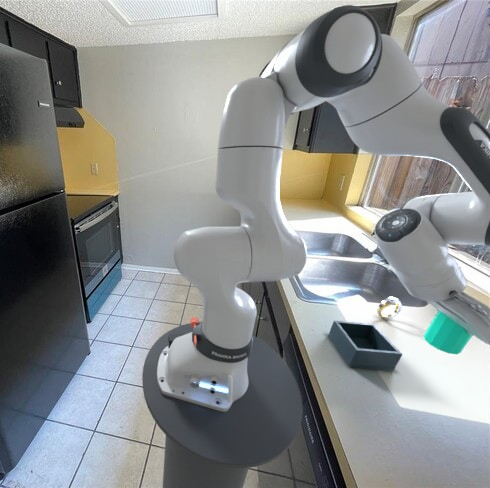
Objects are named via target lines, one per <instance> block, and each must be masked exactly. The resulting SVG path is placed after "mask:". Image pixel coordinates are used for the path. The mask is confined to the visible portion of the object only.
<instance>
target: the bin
mask: <svg viewBox="0 0 490 488" xmlns="http://www.w3.org/2000/svg"><path fill="white" fill-rule="evenodd" d="M327 336H328V338H329V339H330V341H331V342H332V344H333V345H334V347H335V348H336V350H337V351H338V352H339V355H340V356H341V357H342V358H343V360H344V361H345V363H346V364H347V366H348V367H349V368H361V369H371V370H382V371H391V372H394V370H395V369H396V367H397V365H398V363H399V362H400V360H401V358H402V356H403V353H402V352H401V351H400V349H398V348H397V347H396V346H395V344H394V343H392V341H391V340H390V339H388V337H387V336H386V335H385V334H384V333H383V332H382V331H381V330H380V329H379V328H378V327H377V325H375V324H374V323H368V322H355V321H343V320H333V322H332V324H331V327H330V330H329V333H328V334H327Z"/></svg>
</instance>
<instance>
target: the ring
mask: <svg viewBox="0 0 490 488" xmlns="http://www.w3.org/2000/svg"><path fill="white" fill-rule="evenodd" d="M391 305H395V309H394V311H393V312H392V313H390V314H382V311H383V310H384V309H386V308H387V307H389V306H391ZM402 307H403V303H401V301H400V299H399V298H397V297H394V296H389V297H387V298H385V299H384V300H382V301H381V302H380V304H379V305H378V307H377V309H376V313H377V315H378V316H379V317H380V318H382V319H383V320H387V319H391V318H393V317H394V318H395V317H396V316H397V315H398V314H399V313H401V310H402Z"/></svg>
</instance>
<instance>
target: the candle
mask: <svg viewBox="0 0 490 488" xmlns="http://www.w3.org/2000/svg"><path fill="white" fill-rule="evenodd" d="M472 337H473V336H471V335H470V334H468V333H467V332H466V331H465V329H464V328H463V327H462V326H460V325H459V324H457V323H456V322H455V321H453V320H452V319H450V318H449V317H448V316H446V315H445V314H443V313H442V312H441V311H439V310H438V311H436V314H435V316H434V317H433V319H432V321H431V322H430V324H429V325H428V327H427V329H426V331H425V333H424V335H423V340H424V341H426V342H427V344H429V346H432V347H433V348H435V349H437V350H439V351H441V352H443V353H445V354H450V355H451V354H452V355H459V354H461V353H462V351H463V350H464V349H465V347H466V346H467V344H468V343H469V342H470V340H471V338H472Z"/></svg>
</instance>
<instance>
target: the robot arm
mask: <svg viewBox="0 0 490 488" xmlns="http://www.w3.org/2000/svg"><path fill="white" fill-rule="evenodd" d="M325 102H326V103H328V104H329V105H331V106H333V108H334V109H335V110H336V112H337V115H338V117H339V119H340V121H341V122H342V125H343V126H344V129H345V131H346V132H347V134H348V137H349V138H350V139H351V141H352V142H353V144H355V145H356V147H357V148H358V149H360V150H361V151H363V152H366V153H368V154H371V155H375V156H385V157H399V156H400V157H401V156H402V157H403V156H405V157H418V158H419V157H420V158H429V159H434V160H438V161H442V162H444V163H447V164H448V165H450V166H451V167H453V169H454V170H455V171H456V172H457V174H458V175H459V176H460V177H461V179H462V180H463V181H464V182H465V184H466V185H467V186H468V188H469V189H470V191H463V192H453V193H439V194H431V195H430V194H429V195H422V196H417V197H412V198H410V199H408V200H407V201H406V202H405V203H404V204H402V206H400V208H398V209H395V210H393V211H390V212H387V213H386V214H385V215H382V217H381V218H380V219H379V220H378V221H377V223H375V226H374V237H375V241H376V243H377V244H376V245H377V246H378V248H379V251H380V253H381V254H382V256H383V258H384V259H385V260H386V262H387V263H388V264H389V265H386V270H387V271H388V273H389V274H391V275H392V276H393V277H394V278H396V279H397V280H398V281H399V282H400V284H401V285H402V286H403V287H404V288H405V290H406V291H407V292H408V294H409V295H410V296H412V297H413V298H415V299H417V300H420V301H424V302H426V303H427V304H430V306H432V307H434V309H435V310H436V312H438V310H439V311H441V312H442V313H443V314H445V315H446V316H448V317H449V318H450V319H452V320H453V321H455V322H456V323H457V324H459V325H460V326H462V327H463V328H464V329H465V331H466V332H467V333H468V334H470V335H471V336H472V337H473V336H474V337H475V338H477V339H478V340H480V341H481V342H483V343H484V344H485V345H489V346H490V307H489V306H488V304H487V305H486V304H485V303H484V302H482V301H480V300H479V299H477V298H475V297H473V296H472V295H470V294H468V293H466V292H464V291H465V290H466V288H467V286H468V281H467V277H466V275H465V274H464V273H463V271H462V269H461V268H460V267H459V266H458V265H459V264H458V263H457V261H456V259H455V258H454V257H453V256H452V255H451V254H449V247H448V245H469V246H470V245H473V246H486V247H490V131H489V130H488V128H487V127H486V126H485V125H484V124H483V122H481V120H480V119H479V118H478V117H477V116H476V115H475V114H474V113H473V112H472V111H470V110H469V109H468V108H465V107H459V106H451V105H448V104H446V103H444V102H441V100H439V99H437V98H435V97H434V96H433V95H432V94H431V93H430V92H429V91H428V90H427V88H425V85H424V84H423V81H422V79H421V77H420V74H419V73H418V70H417V69H416V68H415V65H414V64H413V61H411V59H410V58H409V56H408V54H407V53H406V52H405V51H404V50H403V48H402V47H401V45H399V44H398V42H397V41H396V40H395V39H394V38H393V37H392V36H390V35H389V34H386V33H381V30H380V27H379V25H378V23H377V21H376V20H375V18H374V17H373V16H372V15H371V14H370V13H369V12H368V11H366V10H365V9H364V8H361V7H360V6H357V5H353V4H345V5H341V6H338V7H335V8H333V9H330V10H328V11H327V12H325V13H323V14H321V15H320V16H318V17H317V18H315V19H314V20H313V21H312V22H311V23H310V24H308V26H307V27H306V28H305V29H303V31H301V32H299V33H298V34H297V35H296V36H295V37H293V38H292V39H290V40H289V41H288V42H287V43H286V44H285V45H283V46H282V47H281V49H280V50H279V51H278V52H277V53H276V54H275V55H274V56H273V58H272V59H271V60H269V61H268V62H267V64H265V66H264V67H263V68H262V69H261V71H260V73H259V75H258V76H253V77H249V78H246V79H244V80H241V81H240V82H238V83H237V84H235V85H234V86H233V87H232V88H231V89H230V91H229V92H228V94H227V97H226V100H225V104H224V108H223V111H222V116H221V122H220V127H219V134H218V143H217V154H216V155H217V156H216V170H215V171H216V172H215V187H214V188H215V192H216V195H217V196H218V198H219V199H220V200H221V202H223V203H224V204H226V205H227V206H229V207H231V208H233V209H235V210H236V211H238V213H239V215H240V225H239V226H238V225H237V226H203V227H198V228H194V229H188V230H185V231H183V232H182V233H181V234H180V236H179V238H178V239H177V241H176V243H175V245H174V249H173V260H174V265H175V268H176V269H177V272H178V273H179V274H180V275H181V277H182V278H183V279H185V280H186V281H188V282H189V283H190V284H191V285H193V286H194V287H195V288H196V289H197V290H198V292H199V293H200V295H201V298H202V303H203V304H202V305H203V306H202V307H203V311H202V321H200V320H199V318H198V317H197V316H192V317H191V318H190V323H191V327H192V328H193V331H192V332H191V333H188V334H185V335H184V334H169V339H168V341H169V346H167V347H166V348H165V349H164V350H163V351H162V353H161V355H160V358H159V361H158V367H157V382H158V386H159V389H160V391H161V392H162V394H164V395H167V396H171V397H174V398H177V399H181V400H184V401H188V402H191V403H194V404H198V405H201V406H205V407H208V408H211V409H215V410H218V411H222V412H226V411H228V410H229V408H230V407H231V405H232V403H233V402H234V401H235V400H237V399H239V398H240V397H242V396H243V395H244V394H245V392H246V390H247V388H248V382H249V381H248V374H247V360H248V357H249V355H250V352H251V349H252V344H253V336H252V335H253V332H254V327H255V323H256V319H257V314H258V311H257V305H256V303H255V301H254V299H253V298H252V297H251V296H250V295H249V293H247V292H246V291H244V290H243V289H240V288H239V287H237V286H238V284H242V283H261V282H264V283H265V282H277V281H282V280H286V279H291V278H293V277H297V276H298V275H300V274H301V272H302V271H303V269H304V268H305V266H306V264H307V259H308V249H307V244H306V242H305V240H304V238H303V237H302V236H301V235H300V233H299V232H297V231H296V230H295V229H294V228H293V227H292V225H291V224H290V223H289V221H288V220H287V218H286V216H285V213H284V211H283V207H282V203H281V195H280V189H281V188H280V187H281V173H282V161H283V155H284V154H283V152H284V145H285V144H284V143H285V131H286V128H287V124H288V121H289V119H290V117H291V115H294V114H295V113H298V112H302V111H306V110H309V109H313V108H315V107H317V106H319V105H321V104H323V103H325ZM198 322H201V323H200V324H199V323H198ZM161 381H163V382H161ZM216 403H219V404H216Z"/></svg>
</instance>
